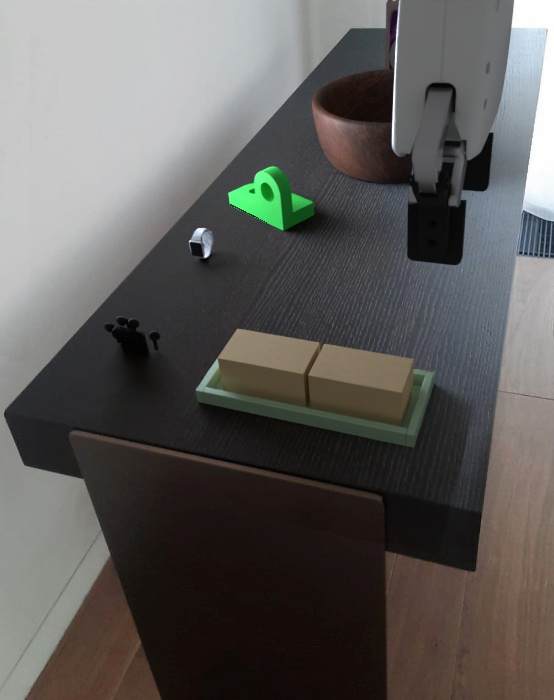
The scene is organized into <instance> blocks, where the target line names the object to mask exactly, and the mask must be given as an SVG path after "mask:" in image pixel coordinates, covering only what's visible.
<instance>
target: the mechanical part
mask: <svg viewBox="0 0 554 700" xmlns="http://www.w3.org/2000/svg"><path fill="white" fill-rule="evenodd" d="M253 179H254V180H253V182H252V183H248V184H245V185H243V186H241V187H239V188H236V189H234V190H232V191H230V192H228V200H229V205H230V204H232V205H234V206H236V207H238V208H240V209H242V210H244V211H246V212H247V213H250V214H252V215H254V216H256V217H258V218H259V219H258V218H257V219H258V220H260V219H261V220H260V221H262V220H263V221H262V222H264V221H265V222H264V223H266V222H267V223H266V224H269V225H270V226H273V227H275V228H276V229H279V230H281V231H283V232H284V231H286V230H288V229H291V228H293V227H294V226H295V225H298V224H300V223H302V222H303V221H305V220H307V219H309V218H311V217H313V216H314V215H315V204H314V203H315V202H314V201H312V200H310V199H307V198H305V197H303V196H300V195H297V194H295V193H293V192H292V188H291V184H290V181H289V179H288V177H287V175H286V174H285V173H284V172H283V170H281V169H280V168H279V167H277V166H273V165H272V166H269V167H266V168H265V169H262V170H260V171H258V172H257V173H256V174H255V176H254V178H253ZM247 213H246V214H247ZM256 217H255V218H256Z"/></svg>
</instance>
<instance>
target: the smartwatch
mask: <svg viewBox="0 0 554 700" xmlns="http://www.w3.org/2000/svg"><path fill="white" fill-rule="evenodd" d="M188 244H189V249H190V254H191V256H192V257H195V258H198V259H207V258H209V257H210V255H211V254H212V251H213V247H214V244H215V239H214V235H213V232H212V230H211V229H209V228H205V227H199V228H196V230H194V232H193V234H192V237H191V238H190V240H189V241H188Z"/></svg>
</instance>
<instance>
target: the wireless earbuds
mask: <svg viewBox="0 0 554 700" xmlns="http://www.w3.org/2000/svg"><path fill="white" fill-rule="evenodd" d="M115 319H116V320H115V321H116V323H117V324H118V325H115V323H111V322H105V323H104V324H103V328H104V330H105V331H106V332H107V333H111V336H112V337H113V338H114V339H115V340H116V343H117V344H120V346H121V349H122V351H123V353H125V354H129V355H135V356H140V357H141V356H142V357H143V356H145V355H147V354H148V353H149V346H148V341H147V337H146V333H145V331H144V330H139V329H138V328H139V327H140V326H141V325H140V320H138V319H136V318H133V317H132V318H130V319H128V318H127V317H125V316H121V315H120V316H116V318H115ZM125 325H126V326H125ZM148 338H149V339H150V340H151V341H152V344H153V349H154V351H158V350H159V345H158V342H157V341H158V340H160V339H161V334H160V332H158V331H156V330H151V331H150V332H149V335H148Z"/></svg>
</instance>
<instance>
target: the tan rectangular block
mask: <svg viewBox="0 0 554 700" xmlns="http://www.w3.org/2000/svg"><path fill="white" fill-rule="evenodd" d="M414 369H415V358H410V357H403V356H399V355H394V354H393V355H392V354H386V353H381V352H375V351H369V350H363V349H357V348H352V347H346V346H341V345H334V344H328V343H324V344H323V346H322V348H321V349H320V353H319V355H318V357H317V359H316V361H315V363H314V365H313V367H312V369H311V371H310V373H309V375H308V381H309V395H310V408H311V409H315V410H320V411H325V412H330V413H335V414H340V415H345V416H350V417H355V418H360V419H364V420H369V421H374V422H379V423H384V424H389V425H394V426H399V427H401V426H402V423H403V420H404V417H405V414H406V411H407V409H408V406H409V403H410V400H411V397H412V394H413V375H414Z"/></svg>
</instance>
